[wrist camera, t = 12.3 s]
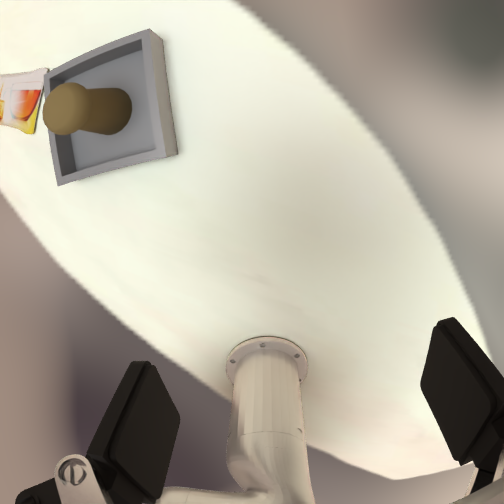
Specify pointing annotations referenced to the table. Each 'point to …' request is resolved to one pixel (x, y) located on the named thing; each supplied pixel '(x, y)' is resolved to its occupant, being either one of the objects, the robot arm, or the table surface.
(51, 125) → the cork
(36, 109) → the food package
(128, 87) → the tote
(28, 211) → the table surface
